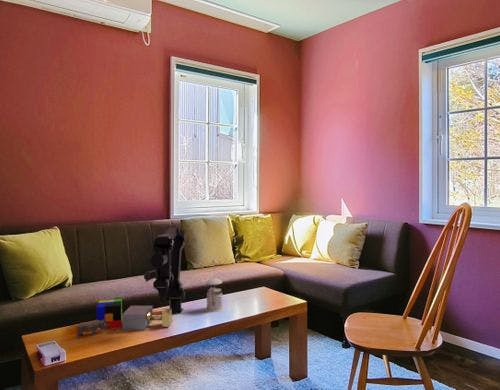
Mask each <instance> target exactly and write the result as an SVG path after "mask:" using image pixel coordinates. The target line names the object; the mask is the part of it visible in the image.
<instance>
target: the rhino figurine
mask: <svg viewBox="0 0 500 390" xmlns="http://www.w3.org/2000/svg"><path fill="white" fill-rule="evenodd" d="M103 321H104V319H103V320H102V321H100V320H97V319H94V320H91V321H85V322H80V323H79V324H78V325H77V327H76V329H77V330H76V332H77V333H76V339H81V337H84V334H83V333H84V332H85V333H90V332H91V336H96V331H97V328H99V327H100V329H101V330H103V331H106V330H107V329H106V328H107V327H108V326H109V325H110V323H109V324H108V325H107V324H104V323H105V322H103Z"/></svg>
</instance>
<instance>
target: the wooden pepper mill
mask: <svg viewBox="0 0 500 390" xmlns="http://www.w3.org/2000/svg"><path fill="white" fill-rule="evenodd" d="M172 314H173V313H172V309H170V308H164V310H163V311H162V313H161V314H153V315H151V313H148V322H151V320H153V321H161V327H163V328H164V327H166V328H167V327H170V326H171V324H172V323H173V320H172V319H173V316H172ZM151 323H152V322H151Z"/></svg>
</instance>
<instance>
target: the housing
mask: <svg viewBox="0 0 500 390" xmlns="http://www.w3.org/2000/svg"><path fill="white" fill-rule="evenodd" d="M148 313H151V315H154V313H153V305H130V306H129V307H128V308H127V309H126V310H125V311H124V312H122V324H121V328H122V331H146V330H147V329H148V327H149V326H150V325H151V324H152V322H153V321H154V320H151V322H148Z"/></svg>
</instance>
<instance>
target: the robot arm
mask: <svg viewBox="0 0 500 390" xmlns="http://www.w3.org/2000/svg"><path fill="white" fill-rule="evenodd" d="M186 242H187V234H186V231H185V230H183V229H182V228H180V226H178V225H173V226H171V225H170V226H168V229H167V230H166V231H165V232H164V233H163V234H159V235H157V236H156V237H155V238H154V242H153V245H152V251H151V252H152V253H154V254H153V255H152V256H151V258H150V265H151V266H152V267H154V268H155V269H154V270H151V271H150V270H149V271H145V272H144V274H143V279H144V280H145V282H149V281H150V280H151V281H152V280H153V279H155V280H154V281H153V282H152V287H153V288H154V290H156V291H157V292H158V296H159V300H160V303H164V301H169V309H172V314H182V312H183V310H184V308H182V301H185V300H186V293H185V289H184V288H183V283H182V281H181V280H180V278H181V277H180V276H181V262H182V250H183V248H184V247H185V245H186Z"/></svg>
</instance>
